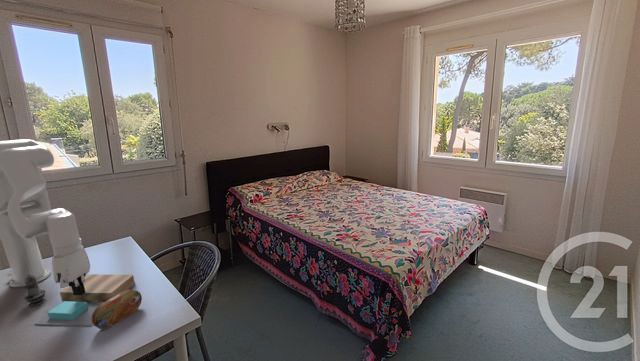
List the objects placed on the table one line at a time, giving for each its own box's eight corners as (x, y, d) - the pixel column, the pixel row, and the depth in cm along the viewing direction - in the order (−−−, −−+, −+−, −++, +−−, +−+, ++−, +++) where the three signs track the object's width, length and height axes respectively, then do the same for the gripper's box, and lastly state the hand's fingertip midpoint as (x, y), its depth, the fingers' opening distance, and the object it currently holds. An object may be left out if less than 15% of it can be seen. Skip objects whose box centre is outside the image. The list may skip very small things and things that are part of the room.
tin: (98, 335, 91) (92, 312, 89) (92, 332, 93) (87, 309, 91) (144, 306, 105) (140, 285, 102) (138, 304, 106) (134, 283, 104)
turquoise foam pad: (64, 301, 104) (65, 306, 105) (47, 312, 98) (49, 318, 99) (87, 302, 103) (88, 307, 104) (71, 313, 97) (73, 319, 98)
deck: (62, 301, 108) (59, 292, 107) (89, 282, 120) (86, 274, 119) (112, 302, 107) (110, 293, 106) (134, 283, 119) (133, 274, 118)
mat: (34, 324, 97) (34, 323, 96) (64, 303, 107) (64, 302, 107) (91, 326, 95) (90, 325, 95) (115, 304, 106) (115, 303, 106)
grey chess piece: (47, 295, 112) (39, 268, 109) (48, 302, 108) (39, 274, 105) (26, 303, 108) (17, 274, 105) (26, 310, 104) (16, 281, 101)
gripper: (76, 238, 108) (87, 281, 112) (35, 258, 93) (50, 307, 98) (95, 238, 107) (105, 282, 111) (57, 259, 93) (71, 308, 97)
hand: (79, 293), depth 104 cm, fingers closed
